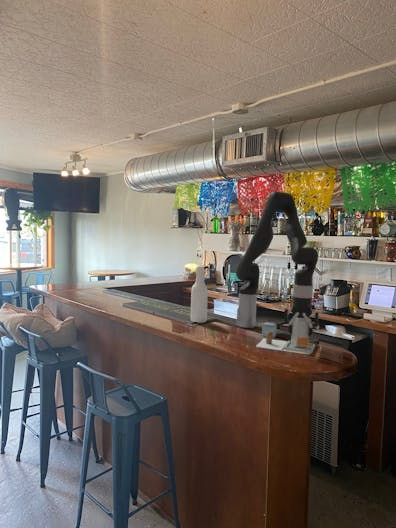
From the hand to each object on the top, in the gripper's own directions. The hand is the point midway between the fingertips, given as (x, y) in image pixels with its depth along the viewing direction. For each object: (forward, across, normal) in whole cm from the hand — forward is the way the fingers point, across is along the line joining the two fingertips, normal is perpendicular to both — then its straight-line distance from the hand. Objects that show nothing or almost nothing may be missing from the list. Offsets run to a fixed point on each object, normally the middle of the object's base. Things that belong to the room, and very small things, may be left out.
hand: (300, 334), depth 165 cm
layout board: (+7, +6, 0) cm, 9 cm away
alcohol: (+7, +58, -29) cm, 65 cm away
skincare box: (+5, 0, 0) cm, 5 cm away
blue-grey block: (+7, +16, -13) cm, 22 cm away
